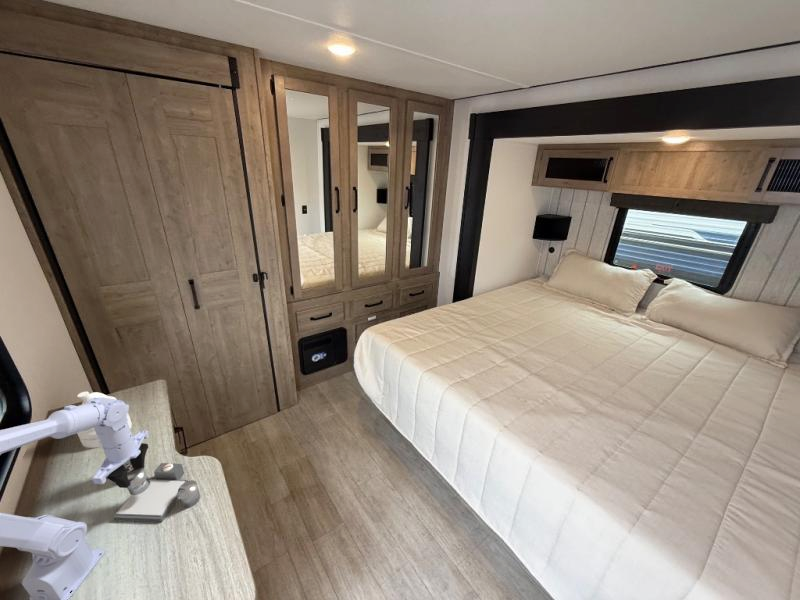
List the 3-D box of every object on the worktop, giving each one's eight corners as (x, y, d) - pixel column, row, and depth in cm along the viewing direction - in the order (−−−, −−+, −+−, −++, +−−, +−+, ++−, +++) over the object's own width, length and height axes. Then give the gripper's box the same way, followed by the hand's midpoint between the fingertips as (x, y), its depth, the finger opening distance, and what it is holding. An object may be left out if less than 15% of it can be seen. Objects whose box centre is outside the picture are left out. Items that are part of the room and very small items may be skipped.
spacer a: (138, 497, 81) (131, 483, 79) (125, 493, 82) (118, 480, 80) (154, 481, 85) (148, 469, 83) (141, 478, 86) (135, 465, 84)
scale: (162, 521, 81) (158, 511, 79) (114, 520, 80) (109, 509, 79) (195, 473, 94) (192, 463, 92) (153, 472, 93) (150, 461, 92)
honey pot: (98, 452, 98) (79, 408, 91) (71, 441, 102) (51, 397, 95) (141, 424, 110) (126, 383, 103) (115, 414, 113) (100, 374, 106)
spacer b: (194, 508, 84) (190, 495, 82) (178, 507, 84) (173, 495, 82) (203, 492, 88) (200, 480, 86) (188, 492, 88) (184, 480, 86)
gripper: (107, 465, 70) (124, 505, 75) (154, 418, 84) (166, 455, 89) (76, 464, 70) (95, 504, 75) (128, 417, 83) (141, 454, 89)
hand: (132, 477), depth 82 cm, fingers closed on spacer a, 4 cm apart
